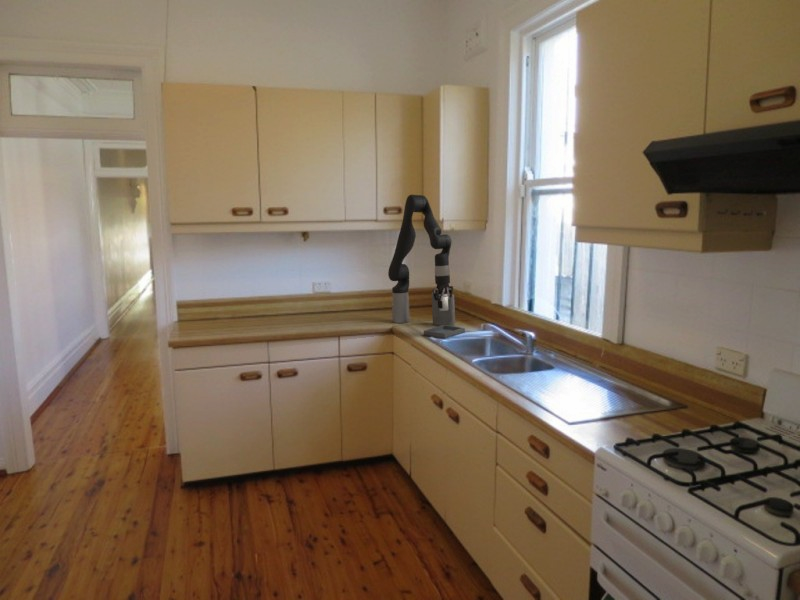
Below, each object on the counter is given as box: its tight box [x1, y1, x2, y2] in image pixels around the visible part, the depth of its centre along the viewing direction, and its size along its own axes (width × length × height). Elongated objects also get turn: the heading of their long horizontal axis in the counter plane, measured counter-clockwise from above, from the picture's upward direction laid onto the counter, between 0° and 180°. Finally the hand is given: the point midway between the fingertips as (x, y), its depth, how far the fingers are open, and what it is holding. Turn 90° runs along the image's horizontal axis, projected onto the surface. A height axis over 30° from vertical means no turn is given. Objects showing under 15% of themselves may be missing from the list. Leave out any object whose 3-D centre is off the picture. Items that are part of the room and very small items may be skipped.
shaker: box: [439, 294, 448, 311], centre depth 290 cm, size 5×5×8 cm
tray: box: [423, 325, 466, 339], centre depth 293 cm, size 14×16×2 cm
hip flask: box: [431, 292, 456, 327], centre depth 312 cm, size 16×4×20 cm, turn 41°
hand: (443, 307), depth 291 cm, fingers closed on shaker, 4 cm apart
